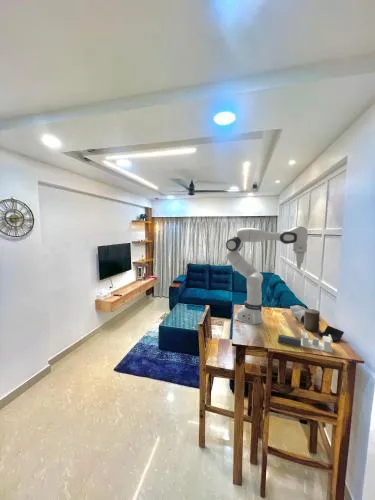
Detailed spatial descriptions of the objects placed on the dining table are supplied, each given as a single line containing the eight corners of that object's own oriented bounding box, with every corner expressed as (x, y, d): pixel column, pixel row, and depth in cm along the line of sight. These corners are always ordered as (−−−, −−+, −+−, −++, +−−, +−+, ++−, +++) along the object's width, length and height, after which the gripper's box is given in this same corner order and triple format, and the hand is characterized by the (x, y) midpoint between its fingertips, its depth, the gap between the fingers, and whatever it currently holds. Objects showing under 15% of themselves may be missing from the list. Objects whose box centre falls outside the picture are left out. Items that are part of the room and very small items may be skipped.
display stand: (300, 346, 136) (301, 335, 135) (299, 339, 145) (300, 328, 144) (332, 353, 129) (333, 341, 128) (329, 345, 138) (330, 333, 137)
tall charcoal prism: (277, 343, 140) (278, 336, 139) (278, 341, 143) (278, 334, 142) (300, 348, 134) (301, 340, 134) (300, 346, 137) (300, 338, 137)
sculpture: (287, 311, 197) (288, 301, 196) (310, 313, 193) (310, 302, 192) (295, 322, 172) (296, 310, 171) (321, 325, 169) (322, 312, 168)
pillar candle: (320, 332, 155) (322, 312, 154) (306, 331, 157) (307, 311, 156) (315, 326, 165) (316, 307, 164) (301, 325, 167) (302, 306, 166)
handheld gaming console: (319, 337, 151) (318, 333, 151) (328, 329, 155) (327, 325, 154) (335, 344, 142) (334, 340, 141) (345, 336, 145) (344, 331, 144)
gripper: (294, 247, 167) (293, 265, 169) (295, 249, 149) (294, 269, 150) (303, 248, 165) (302, 266, 166) (305, 250, 146) (304, 270, 148)
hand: (298, 267), depth 158 cm, fingers open, 8 cm apart
